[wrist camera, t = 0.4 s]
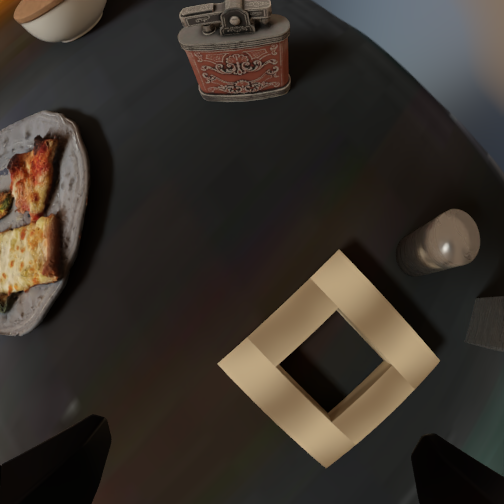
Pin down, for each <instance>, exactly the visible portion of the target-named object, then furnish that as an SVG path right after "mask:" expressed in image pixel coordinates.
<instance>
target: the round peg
mask: <svg viewBox="0 0 504 504" xmlns="http://www.w3.org/2000/svg"><path fill="white" fill-rule="evenodd" d="M479 247H480V234H479V230H478V227H477V225H476V223H475V222H474V220H473V219H472V217H471V216H470V215H468V214H467V213H466V212H464V211H462V210H459V209H450V210H448V211H446V212H444V213H443V214H441V215H440V216H438V217H436V218H435V219H433V220H432V221H430V222H428V223H427V224H425V225H424V226H422V227H420V228H419V229H417V230H415V231H414V232H412V233H410V234H409V235H407V236H405V237H404V238H403V239H402V240H401V241H400V242H399V244H398V246H397V249H396V260H397V263H398V266H399V267H400V269H401V270H402V271H403V272H404V273H405V274H407V275H409V276H414V277H416V276H421V275H426V274H430V273H434V272H438V271H442V270H446V269H449V268H453V267H457V266H461V265H465V264H468V263H470V262H471V261H472V260H473V259H474V258H475V257H476V255H477V253H478V251H479Z"/></svg>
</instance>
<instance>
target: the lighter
mask: <svg viewBox="0 0 504 504" xmlns="http://www.w3.org/2000/svg"><path fill="white" fill-rule="evenodd" d="M180 19H181V22H182V24H183V26H184V28H183V29H182V30H181V31H180V32H179V34H178V40H179V43H180V45H181V47H182V48H183V49H184V50H185V51H186V53H187V56H188V58H189V61H190V63H191V66H192V68H193V71H194V73H195V76H196V78H197V81H198V83H199V91H200V93H201V96H202V97H203V98H204V99H205V100H207V101H219V102H237V101H251V100H259V99H266V98H271V97H276V96H281V95H284V94H286V93H287V92H288V91H289V89H290V85H291V78H290V75H289V74H288V36H289V35H290V23H289V21H288V20H287V19H286V18H285V17H283V16H281V15H276V14H272V12H271V2H270V0H225V1H224V2H223V3H218V4H214V3H210V4H203V5H197V6H192V7H186V8H183V9H182V11H181V12H180Z"/></svg>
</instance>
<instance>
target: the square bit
mask: <svg viewBox="0 0 504 504" xmlns="http://www.w3.org/2000/svg"><path fill="white" fill-rule="evenodd" d="M465 342H467V343H470V344H474V345H477V346H481V347H484V348H488V349H491V350H495V351H501V352H504V296H500V297H487V298H476V299H475V304H474V308H473V312H472V316H471V320H470V324H469V328H468V332H467V335H466V339H465Z"/></svg>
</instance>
